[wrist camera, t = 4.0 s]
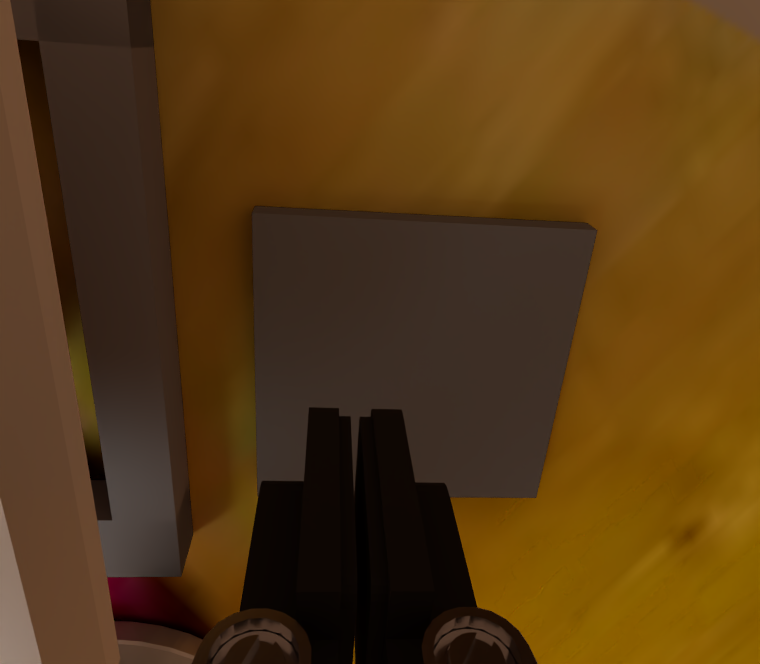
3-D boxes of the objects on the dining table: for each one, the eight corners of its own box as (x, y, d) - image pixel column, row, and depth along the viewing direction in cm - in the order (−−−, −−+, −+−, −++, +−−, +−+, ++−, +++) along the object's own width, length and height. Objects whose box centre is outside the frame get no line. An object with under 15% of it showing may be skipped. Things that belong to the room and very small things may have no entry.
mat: (529, 483, 23) (536, 497, 22) (260, 481, 22) (257, 496, 21) (587, 222, 18) (597, 230, 18) (255, 206, 18) (251, 212, 17)
